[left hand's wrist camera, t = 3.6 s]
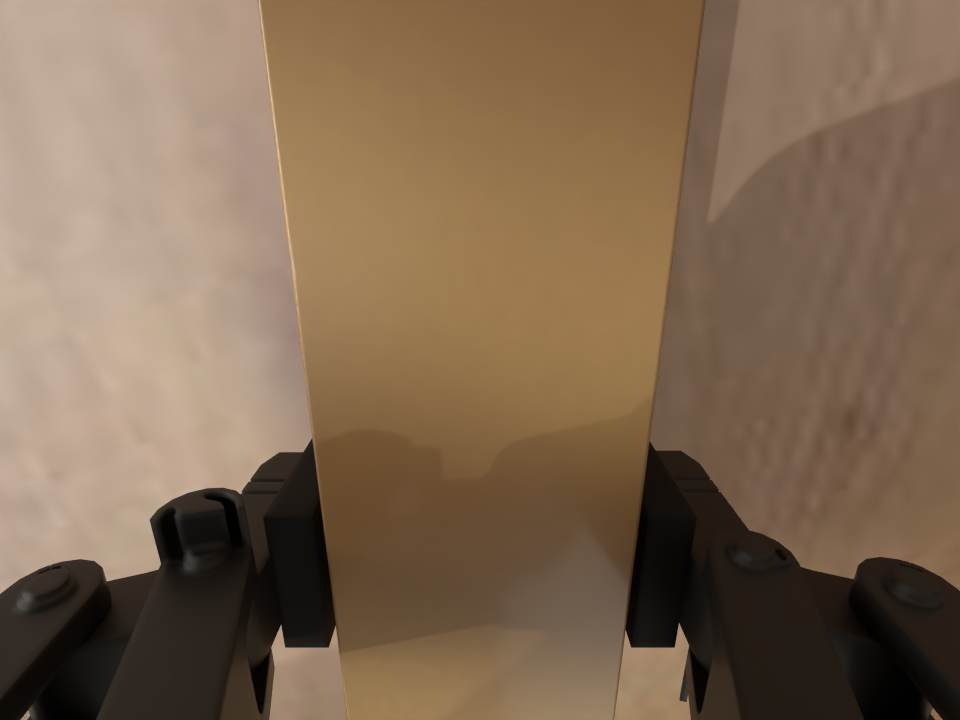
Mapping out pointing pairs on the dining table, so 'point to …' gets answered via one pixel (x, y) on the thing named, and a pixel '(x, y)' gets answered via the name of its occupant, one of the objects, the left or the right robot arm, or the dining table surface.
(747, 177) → the dining table surface
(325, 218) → the bar
